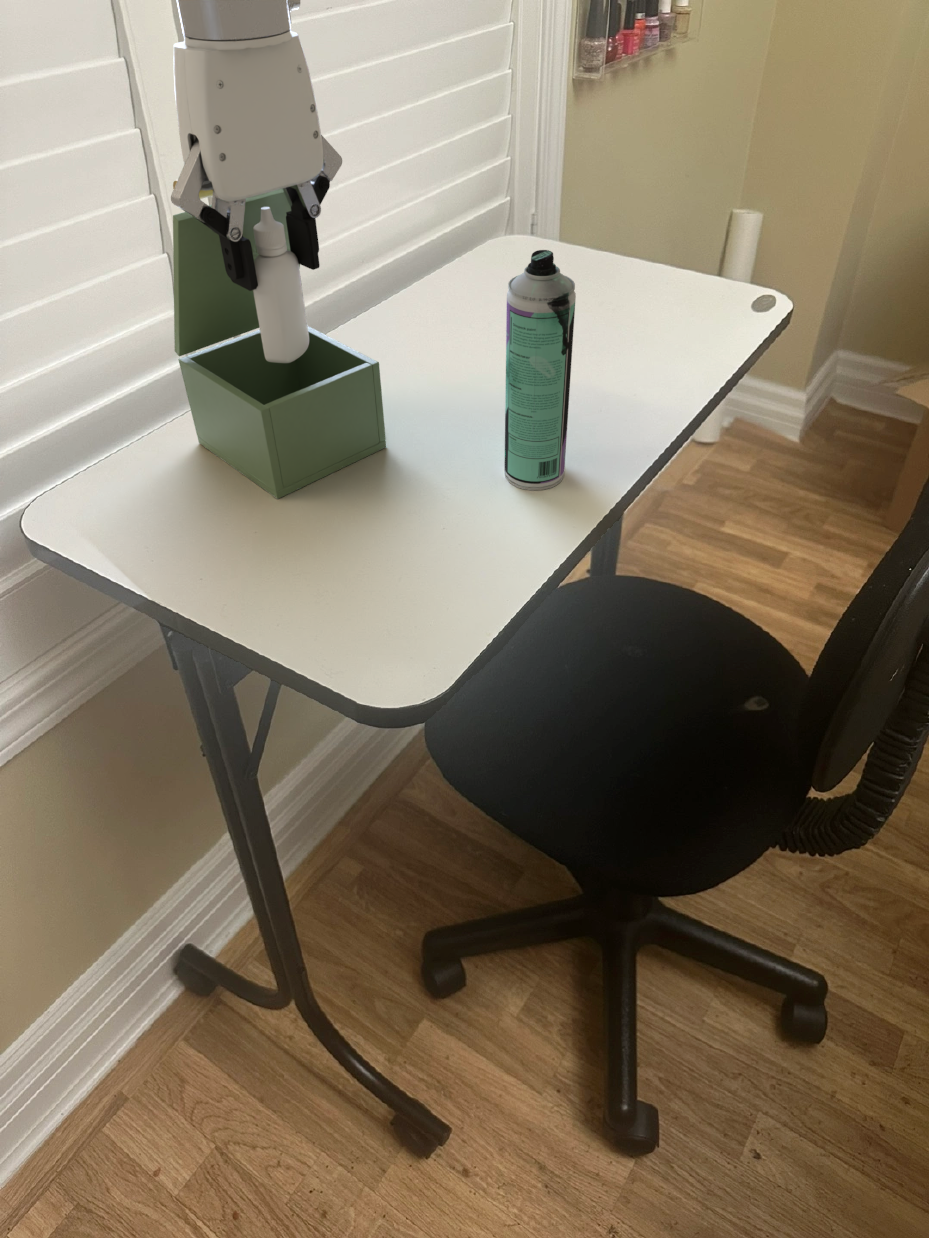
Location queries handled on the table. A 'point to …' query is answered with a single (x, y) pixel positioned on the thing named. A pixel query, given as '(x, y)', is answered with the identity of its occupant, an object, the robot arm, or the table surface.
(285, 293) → the eye dropper bottle
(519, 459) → the spray can
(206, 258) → the lid
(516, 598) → the table surface
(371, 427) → the chest
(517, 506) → the table surface
